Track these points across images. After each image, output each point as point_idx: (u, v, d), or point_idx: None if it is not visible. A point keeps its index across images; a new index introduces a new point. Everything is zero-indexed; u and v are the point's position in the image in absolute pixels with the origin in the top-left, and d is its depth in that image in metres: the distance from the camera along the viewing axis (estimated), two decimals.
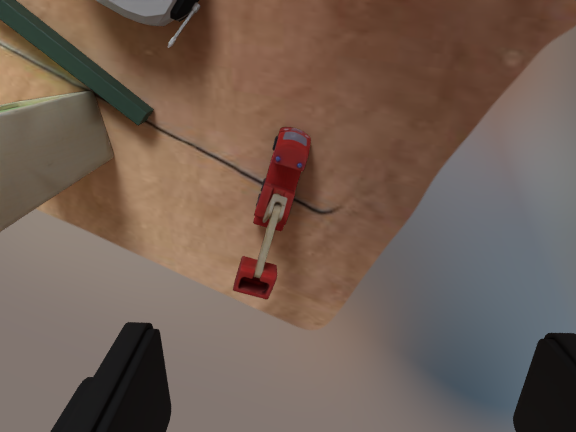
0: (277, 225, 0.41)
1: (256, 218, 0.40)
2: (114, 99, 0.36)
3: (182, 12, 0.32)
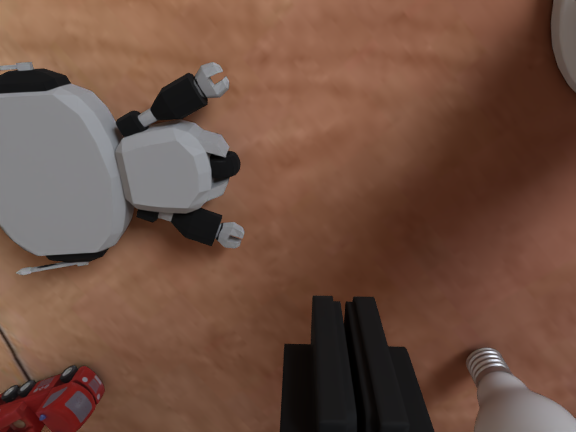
0: None
1: None
2: None
3: None
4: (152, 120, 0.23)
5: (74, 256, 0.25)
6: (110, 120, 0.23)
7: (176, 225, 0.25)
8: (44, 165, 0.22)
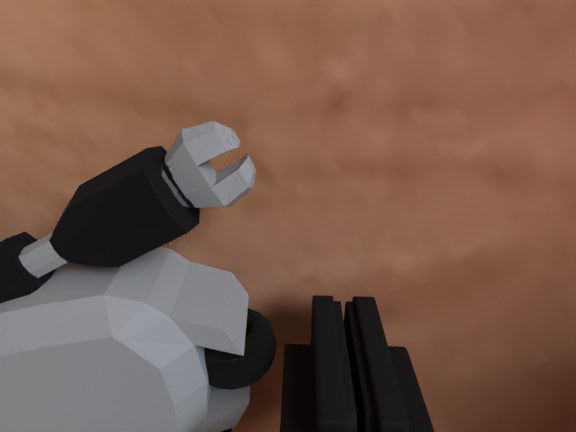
0: None
1: None
2: None
3: None
4: (57, 264, 0.09)
5: None
6: None
7: None
8: None
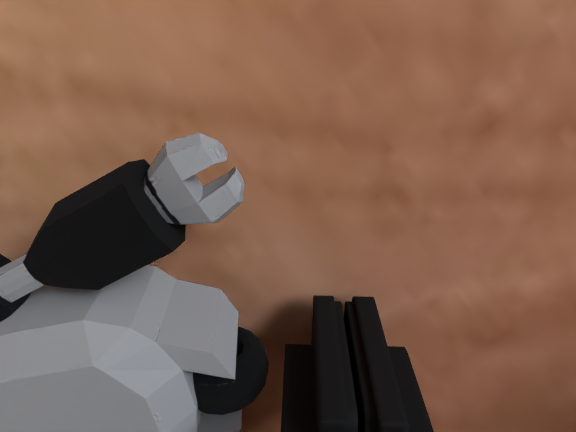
0: None
1: None
2: None
3: None
4: (32, 287, 0.08)
5: None
6: None
7: None
8: None
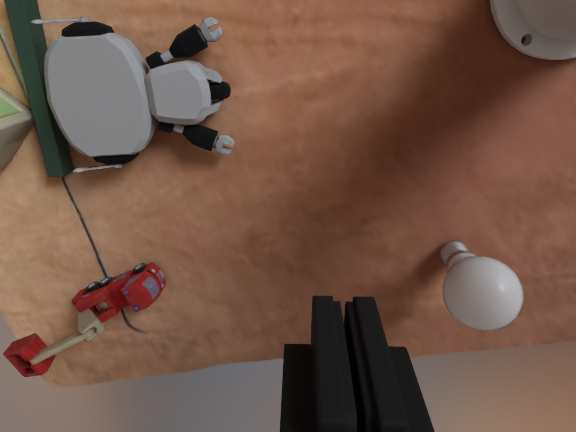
0: None
1: (76, 300, 0.44)
2: (47, 147, 0.37)
3: (104, 162, 0.36)
4: (170, 57, 0.33)
5: (114, 157, 0.36)
6: (141, 58, 0.34)
7: (186, 135, 0.36)
8: (97, 87, 0.33)
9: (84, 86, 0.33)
